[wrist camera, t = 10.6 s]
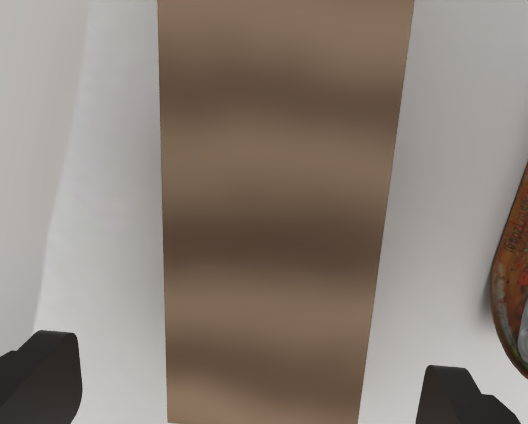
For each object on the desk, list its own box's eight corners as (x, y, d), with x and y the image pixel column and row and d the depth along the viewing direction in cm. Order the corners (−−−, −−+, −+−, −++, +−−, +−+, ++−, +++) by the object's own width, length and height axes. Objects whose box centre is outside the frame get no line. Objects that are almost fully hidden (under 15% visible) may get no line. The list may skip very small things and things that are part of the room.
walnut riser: (177, -20, 19) (156, -39, 17) (399, -13, 19) (418, -31, 16) (181, 384, 26) (167, 422, 23) (348, 399, 25) (355, 440, 22)
